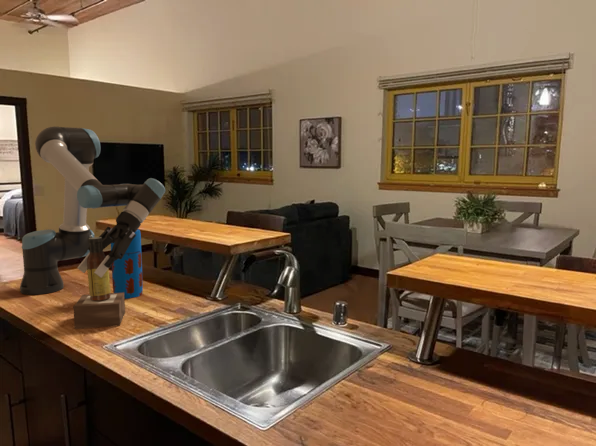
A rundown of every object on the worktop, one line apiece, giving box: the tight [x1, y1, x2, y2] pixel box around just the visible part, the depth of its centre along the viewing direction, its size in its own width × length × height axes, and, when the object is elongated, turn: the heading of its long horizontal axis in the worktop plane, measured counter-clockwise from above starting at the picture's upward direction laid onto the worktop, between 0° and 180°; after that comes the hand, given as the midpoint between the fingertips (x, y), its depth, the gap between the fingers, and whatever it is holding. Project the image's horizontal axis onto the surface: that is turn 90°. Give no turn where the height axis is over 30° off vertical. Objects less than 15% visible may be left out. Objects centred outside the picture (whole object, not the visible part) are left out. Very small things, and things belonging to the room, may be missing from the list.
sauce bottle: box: [86, 236, 112, 301], centre depth 145 cm, size 7×6×20 cm
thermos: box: [110, 228, 144, 300], centre depth 174 cm, size 11×11×25 cm
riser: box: [72, 292, 126, 330], centre depth 146 cm, size 13×13×7 cm
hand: (89, 272), depth 142 cm, fingers open, 9 cm apart
